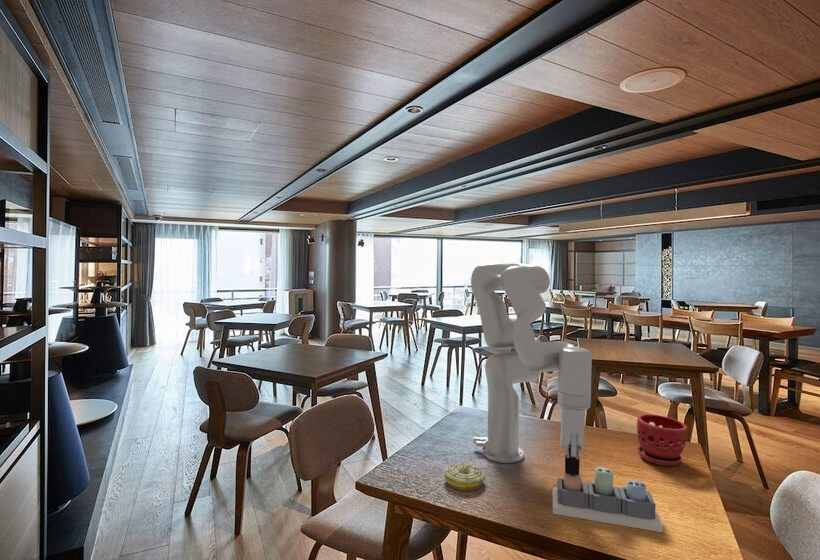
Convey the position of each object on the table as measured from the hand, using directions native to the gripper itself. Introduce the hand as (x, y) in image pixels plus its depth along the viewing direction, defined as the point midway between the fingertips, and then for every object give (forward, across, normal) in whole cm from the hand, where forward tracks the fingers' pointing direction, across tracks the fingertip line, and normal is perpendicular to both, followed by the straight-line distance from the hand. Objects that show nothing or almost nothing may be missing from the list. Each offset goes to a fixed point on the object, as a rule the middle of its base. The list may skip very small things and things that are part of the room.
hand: (571, 472), depth 105 cm
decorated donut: (+9, -3, -27) cm, 28 cm away
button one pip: (+5, 0, 0) cm, 5 cm away
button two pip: (+3, 0, +7) cm, 8 cm away
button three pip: (+5, 0, +14) cm, 15 cm away
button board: (+8, 0, +7) cm, 11 cm away
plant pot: (+8, -36, +27) cm, 46 cm away
